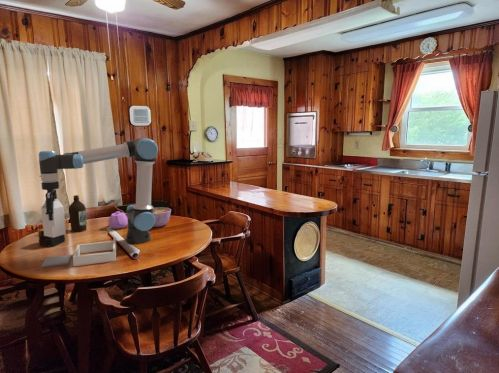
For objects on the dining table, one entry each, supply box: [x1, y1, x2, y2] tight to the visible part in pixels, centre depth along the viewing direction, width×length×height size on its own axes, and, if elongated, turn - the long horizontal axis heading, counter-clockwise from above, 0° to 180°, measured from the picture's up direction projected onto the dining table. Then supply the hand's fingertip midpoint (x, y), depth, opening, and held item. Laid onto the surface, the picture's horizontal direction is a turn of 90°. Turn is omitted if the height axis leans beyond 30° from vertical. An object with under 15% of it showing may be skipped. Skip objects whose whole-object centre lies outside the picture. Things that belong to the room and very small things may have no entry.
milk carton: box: [40, 198, 67, 237], centre depth 166 cm, size 7×7×19 cm
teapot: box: [108, 210, 128, 230], centre depth 231 cm, size 20×13×12 cm, turn 17°
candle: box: [37, 228, 66, 248], centre depth 197 cm, size 10×10×10 cm
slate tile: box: [40, 254, 72, 269], centre depth 170 cm, size 12×12×1 cm
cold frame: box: [72, 236, 117, 267], centre depth 176 cm, size 20×20×7 cm
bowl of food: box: [152, 207, 172, 228], centre depth 236 cm, size 20×20×12 cm
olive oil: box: [68, 194, 88, 233], centre depth 223 cm, size 11×11×25 cm
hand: (54, 223), depth 166 cm, fingers closed on milk carton, 10 cm apart
